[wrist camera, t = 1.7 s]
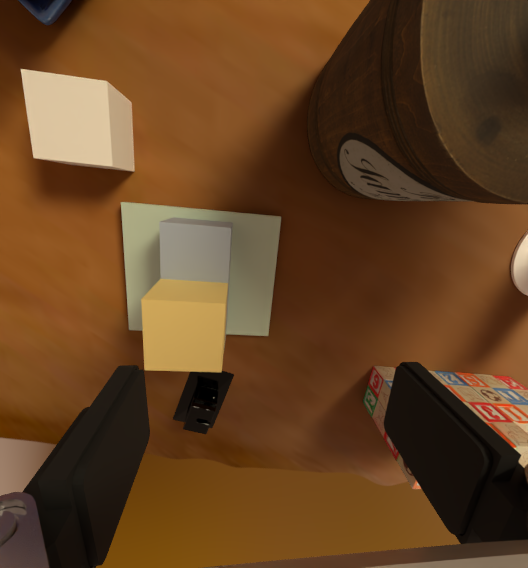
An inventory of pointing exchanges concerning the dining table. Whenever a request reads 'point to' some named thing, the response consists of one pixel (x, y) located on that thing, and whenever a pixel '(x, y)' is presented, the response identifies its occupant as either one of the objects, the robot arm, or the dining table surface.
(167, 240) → the slate-blue long brick
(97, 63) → the dining table surface
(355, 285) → the dining table surface
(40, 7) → the flower pot
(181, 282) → the mustard brick
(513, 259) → the white desk lamp
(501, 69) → the wooden container
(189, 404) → the black piece
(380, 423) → the stack of blocks
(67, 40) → the dining table surface
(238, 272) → the green plate
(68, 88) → the cream brick
